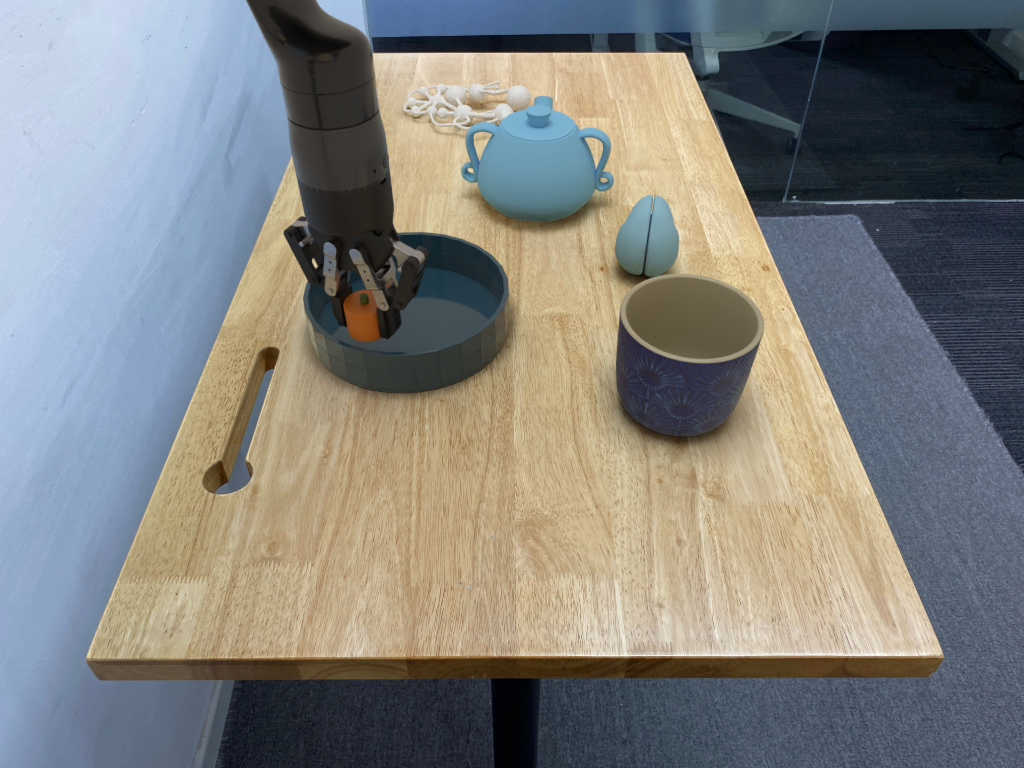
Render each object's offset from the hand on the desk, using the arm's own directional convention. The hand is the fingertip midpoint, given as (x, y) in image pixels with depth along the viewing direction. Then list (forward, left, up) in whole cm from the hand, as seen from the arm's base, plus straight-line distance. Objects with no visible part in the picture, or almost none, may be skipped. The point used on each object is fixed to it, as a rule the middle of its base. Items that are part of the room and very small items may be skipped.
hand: (368, 326), depth 74 cm
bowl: (+7, +3, -5) cm, 9 cm away
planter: (+19, -23, -6) cm, 30 cm away
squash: (0, 0, 0) cm, 0 cm away
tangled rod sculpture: (+43, +39, -6) cm, 58 cm away
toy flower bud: (+35, -5, -6) cm, 36 cm away
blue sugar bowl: (+36, +15, -6) cm, 39 cm away
